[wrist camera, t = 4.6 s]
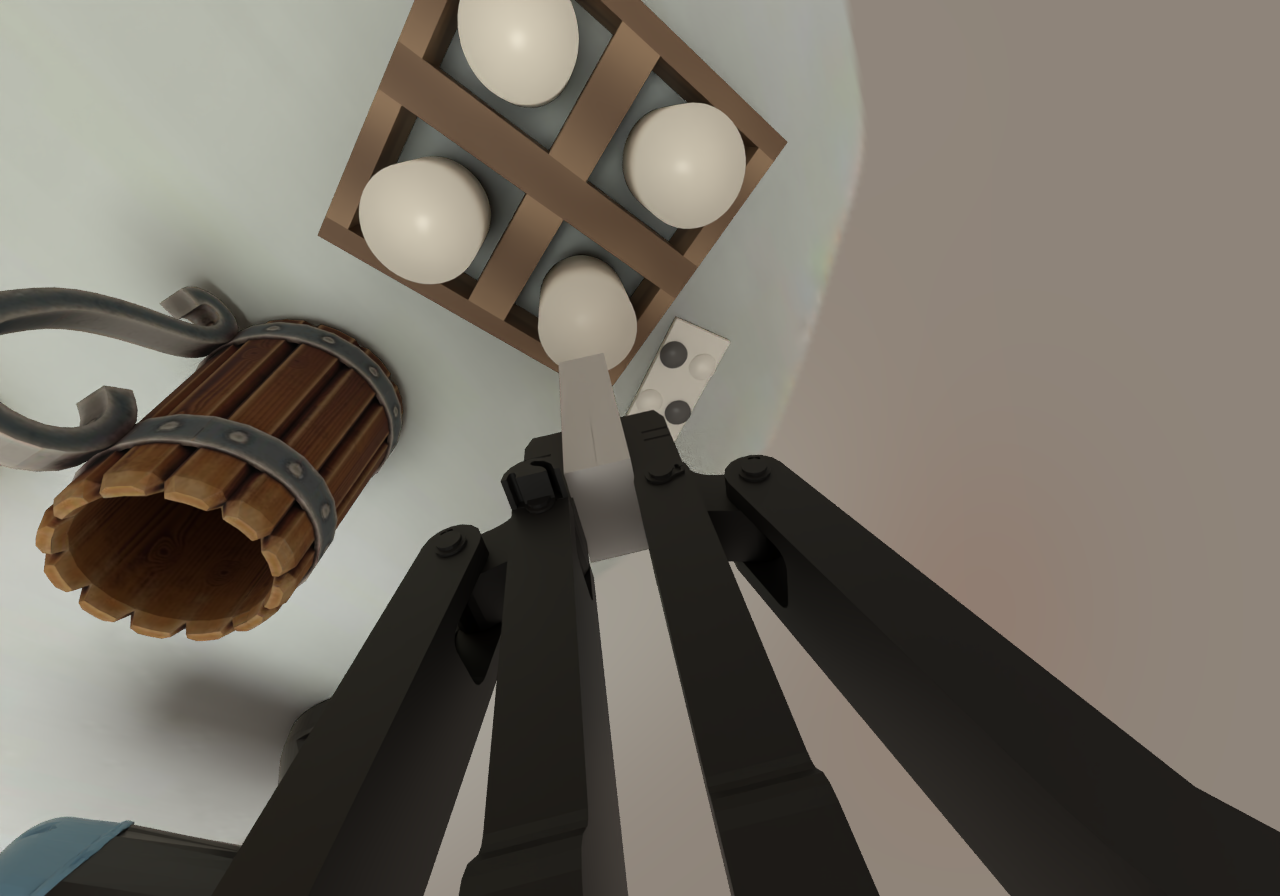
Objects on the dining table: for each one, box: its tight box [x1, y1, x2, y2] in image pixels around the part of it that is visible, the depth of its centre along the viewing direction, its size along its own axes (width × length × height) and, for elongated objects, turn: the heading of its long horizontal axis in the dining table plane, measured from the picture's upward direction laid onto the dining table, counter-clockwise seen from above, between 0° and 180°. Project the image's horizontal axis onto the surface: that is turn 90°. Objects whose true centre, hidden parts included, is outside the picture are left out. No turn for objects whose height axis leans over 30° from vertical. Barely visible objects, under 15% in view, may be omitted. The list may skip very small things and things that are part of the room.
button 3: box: [458, 0, 579, 108], centre depth 23 cm, size 5×5×5 cm
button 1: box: [359, 156, 491, 284], centre depth 24 cm, size 5×5×5 cm
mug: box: [0, 287, 403, 641], centre depth 25 cm, size 16×11×15 cm
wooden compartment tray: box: [318, 0, 787, 386], centre depth 27 cm, size 16×16×4 cm
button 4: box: [622, 103, 746, 229], centre depth 24 cm, size 5×5×5 cm
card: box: [626, 317, 730, 442], centre depth 35 cm, size 8×4×1 cm, turn 154°
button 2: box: [538, 255, 637, 370], centre depth 27 cm, size 5×5×5 cm
